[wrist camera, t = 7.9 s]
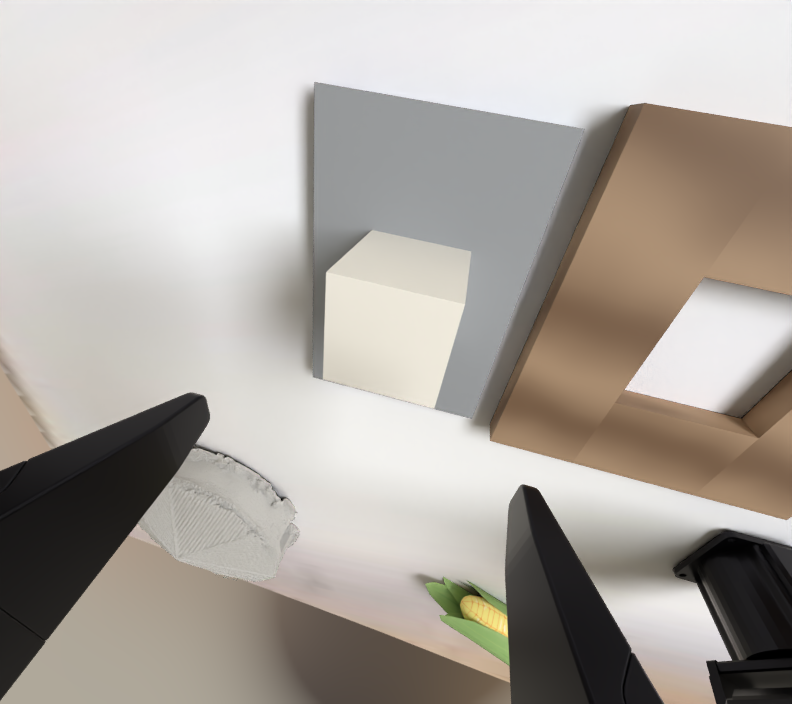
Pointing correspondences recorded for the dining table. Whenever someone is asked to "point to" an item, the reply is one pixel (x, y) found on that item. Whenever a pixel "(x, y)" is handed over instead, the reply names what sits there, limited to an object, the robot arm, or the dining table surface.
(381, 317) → the white block
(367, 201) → the grey mat
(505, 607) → the edible corn
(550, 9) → the dining table surface
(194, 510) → the grey stone disc
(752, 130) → the pocket plate
